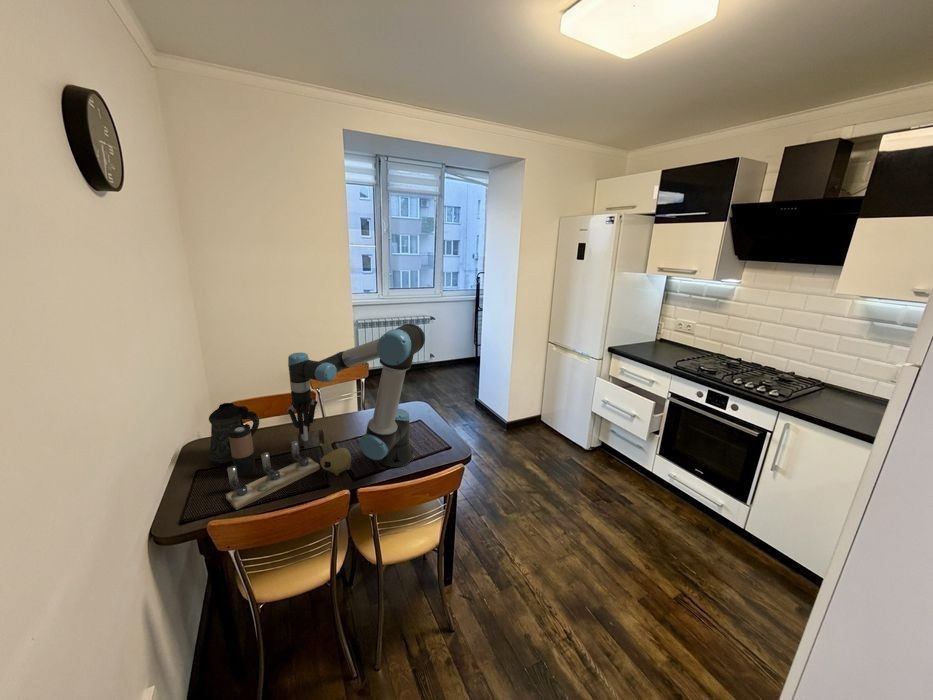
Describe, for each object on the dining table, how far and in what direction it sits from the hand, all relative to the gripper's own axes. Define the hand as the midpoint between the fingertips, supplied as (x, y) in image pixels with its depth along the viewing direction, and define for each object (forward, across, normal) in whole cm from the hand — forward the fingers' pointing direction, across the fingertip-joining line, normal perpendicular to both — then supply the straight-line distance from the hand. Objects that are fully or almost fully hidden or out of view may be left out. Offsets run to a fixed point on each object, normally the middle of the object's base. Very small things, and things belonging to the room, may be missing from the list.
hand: (305, 439), depth 158 cm
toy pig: (+9, -3, +19) cm, 21 cm away
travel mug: (+10, +21, -9) cm, 25 cm away
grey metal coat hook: (+7, +29, +4) cm, 30 cm away
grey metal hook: (+7, +17, +4) cm, 19 cm away
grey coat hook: (+7, +5, +4) cm, 9 cm away
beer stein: (+10, +19, -24) cm, 32 cm away
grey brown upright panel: (+10, -7, -7) cm, 14 cm away
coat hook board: (+9, +17, +8) cm, 21 cm away
